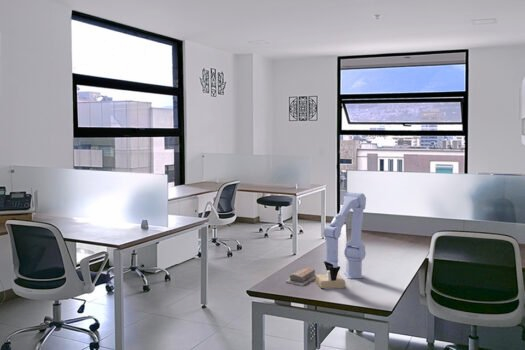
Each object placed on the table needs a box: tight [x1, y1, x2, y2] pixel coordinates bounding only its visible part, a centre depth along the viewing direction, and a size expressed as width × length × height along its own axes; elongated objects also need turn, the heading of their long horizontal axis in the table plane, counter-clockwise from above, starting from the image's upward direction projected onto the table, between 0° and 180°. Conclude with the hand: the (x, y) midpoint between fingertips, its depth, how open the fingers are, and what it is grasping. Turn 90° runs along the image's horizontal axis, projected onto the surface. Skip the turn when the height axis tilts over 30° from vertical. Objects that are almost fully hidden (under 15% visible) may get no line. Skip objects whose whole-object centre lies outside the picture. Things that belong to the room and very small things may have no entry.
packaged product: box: [285, 267, 317, 287], centre depth 258 cm, size 18×5×10 cm
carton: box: [315, 273, 346, 289], centre depth 250 cm, size 12×12×4 cm
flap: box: [319, 270, 346, 283], centre depth 246 cm, size 6×12×5 cm, turn 96°
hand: (331, 278), depth 246 cm, fingers open, 7 cm apart
